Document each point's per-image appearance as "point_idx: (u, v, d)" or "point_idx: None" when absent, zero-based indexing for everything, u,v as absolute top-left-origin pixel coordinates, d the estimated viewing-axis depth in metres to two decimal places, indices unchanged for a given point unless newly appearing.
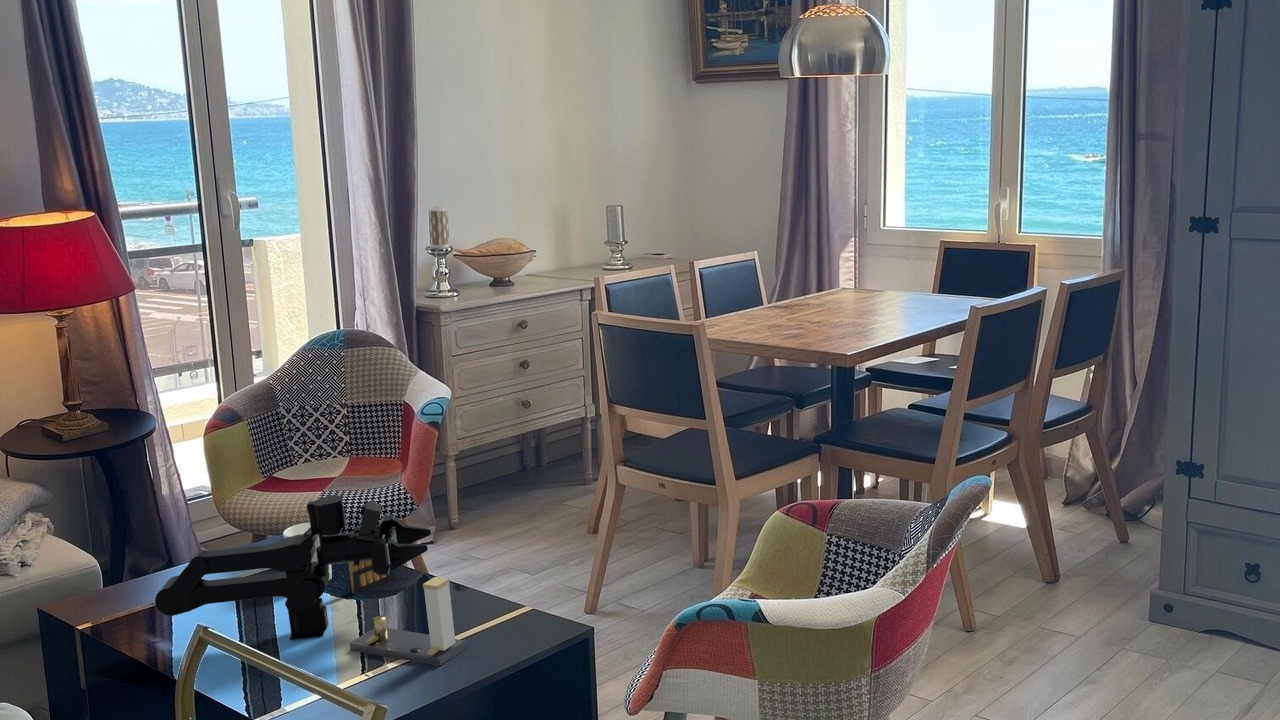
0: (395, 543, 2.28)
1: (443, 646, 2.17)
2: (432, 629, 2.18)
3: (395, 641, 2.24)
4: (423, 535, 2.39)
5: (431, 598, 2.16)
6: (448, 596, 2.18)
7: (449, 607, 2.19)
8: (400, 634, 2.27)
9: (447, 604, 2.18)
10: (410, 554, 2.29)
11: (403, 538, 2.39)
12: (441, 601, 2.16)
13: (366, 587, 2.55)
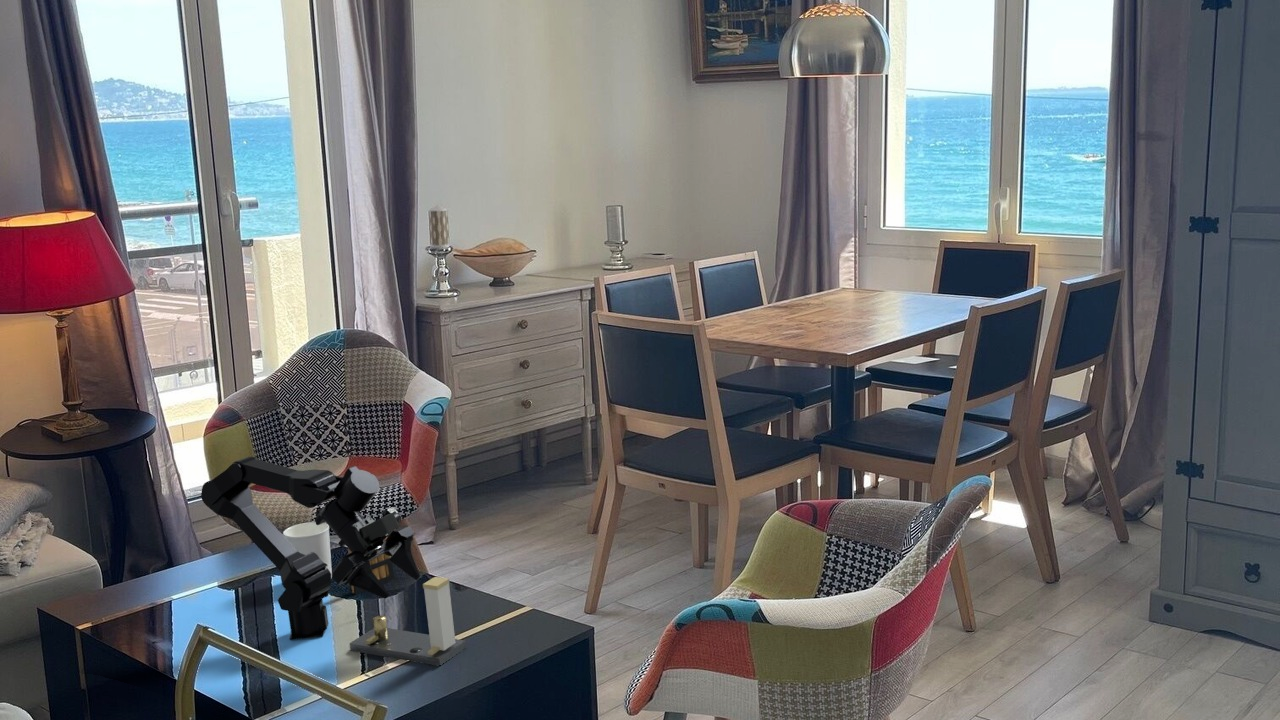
0: (367, 569, 2.16)
1: (443, 646, 2.17)
2: (432, 629, 2.18)
3: (395, 641, 2.24)
4: (412, 574, 2.26)
5: (431, 598, 2.16)
6: (448, 596, 2.18)
7: (449, 607, 2.19)
8: (400, 634, 2.27)
9: (447, 604, 2.18)
10: (370, 587, 2.17)
11: (398, 558, 2.27)
12: (441, 601, 2.16)
13: None
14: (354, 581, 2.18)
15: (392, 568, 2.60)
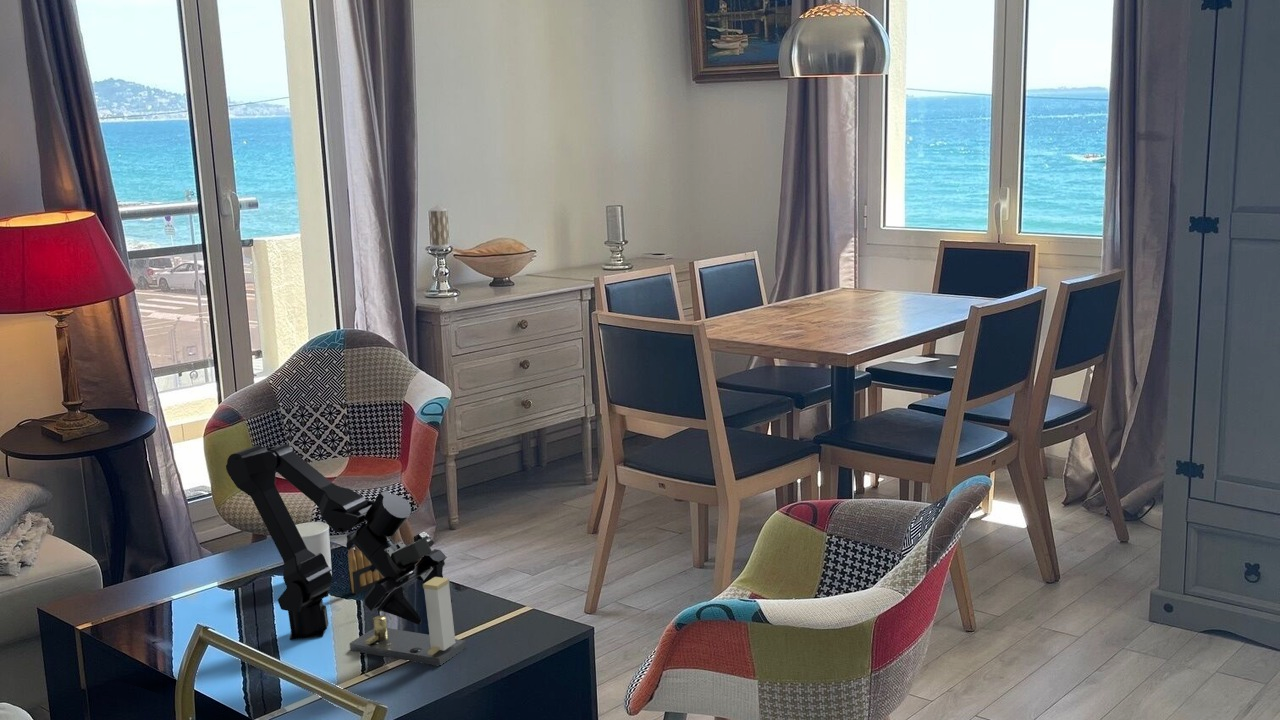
0: (400, 595, 2.14)
1: (443, 646, 2.17)
2: (432, 629, 2.18)
3: (395, 641, 2.24)
4: None
5: (431, 598, 2.16)
6: (448, 596, 2.18)
7: (449, 607, 2.19)
8: (400, 634, 2.27)
9: (447, 604, 2.18)
10: (403, 613, 2.15)
11: None
12: (441, 601, 2.16)
13: (366, 587, 2.55)
14: (386, 607, 2.15)
15: None
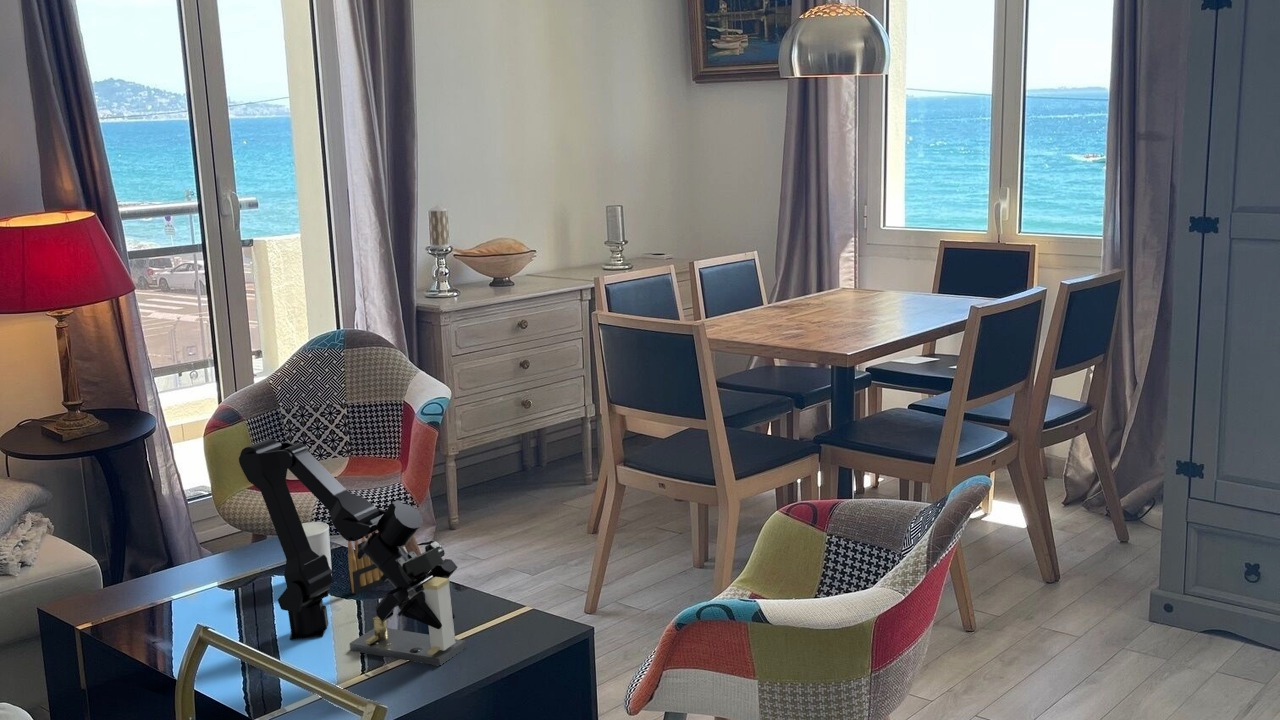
0: (421, 600, 2.16)
1: (443, 646, 2.17)
2: (432, 629, 2.18)
3: (395, 641, 2.24)
4: None
5: (431, 598, 2.16)
6: (448, 596, 2.18)
7: (449, 607, 2.19)
8: (400, 634, 2.27)
9: (447, 604, 2.18)
10: (423, 618, 2.17)
11: None
12: (441, 601, 2.16)
13: (366, 587, 2.55)
14: (407, 612, 2.17)
15: None
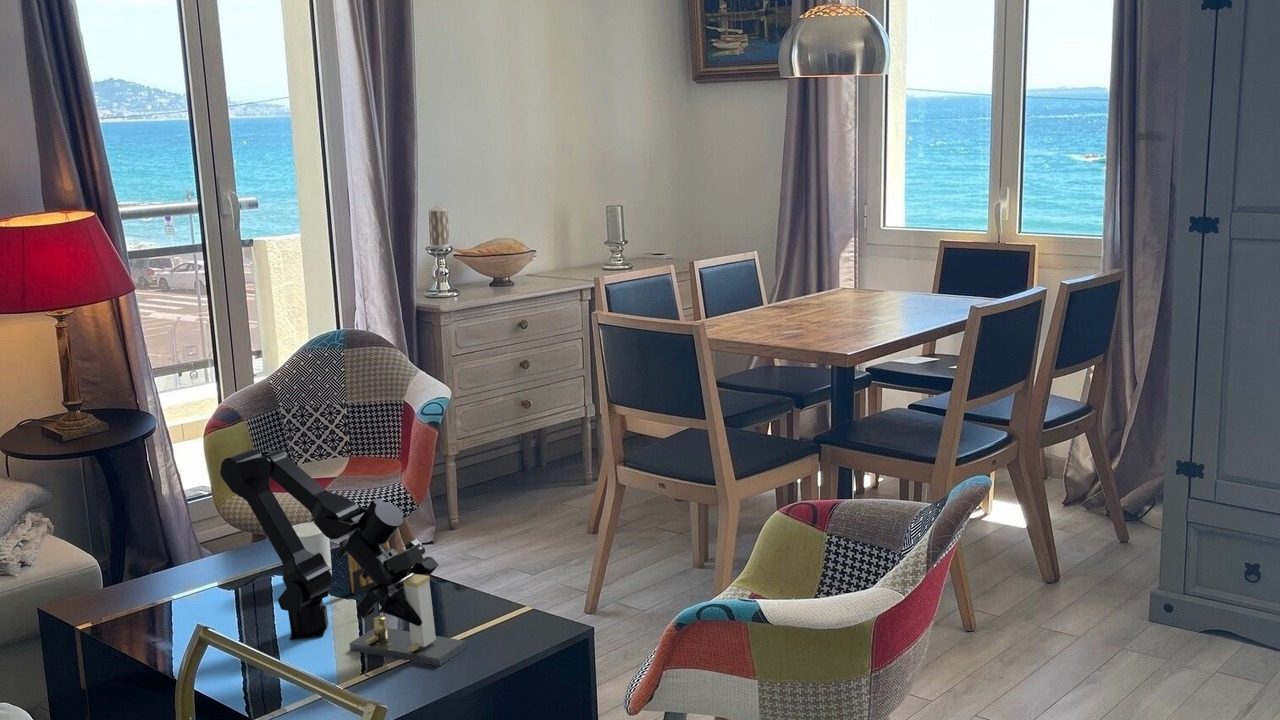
0: (401, 597, 2.18)
1: (423, 643, 2.19)
2: (412, 626, 2.20)
3: (395, 641, 2.24)
4: None
5: (411, 596, 2.18)
6: (428, 593, 2.20)
7: (430, 604, 2.21)
8: (400, 634, 2.27)
9: (427, 601, 2.20)
10: (404, 615, 2.19)
11: None
12: (421, 598, 2.18)
13: (366, 587, 2.55)
14: (387, 609, 2.19)
15: None
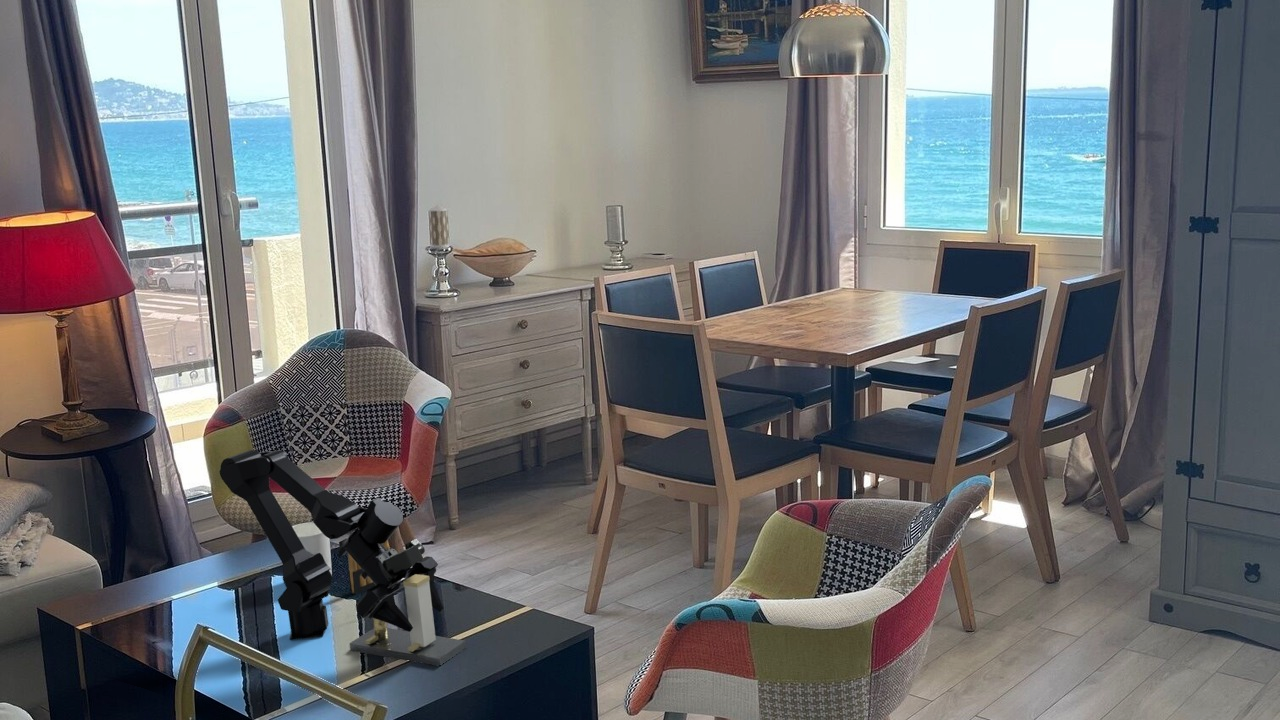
0: (391, 602, 2.15)
1: (423, 643, 2.20)
2: (412, 626, 2.20)
3: (395, 641, 2.24)
4: (435, 606, 2.25)
5: (411, 596, 2.18)
6: (428, 593, 2.20)
7: (430, 604, 2.21)
8: (400, 634, 2.27)
9: (427, 601, 2.20)
10: (394, 620, 2.16)
11: None
12: (421, 598, 2.18)
13: (366, 587, 2.55)
14: (378, 614, 2.16)
15: None
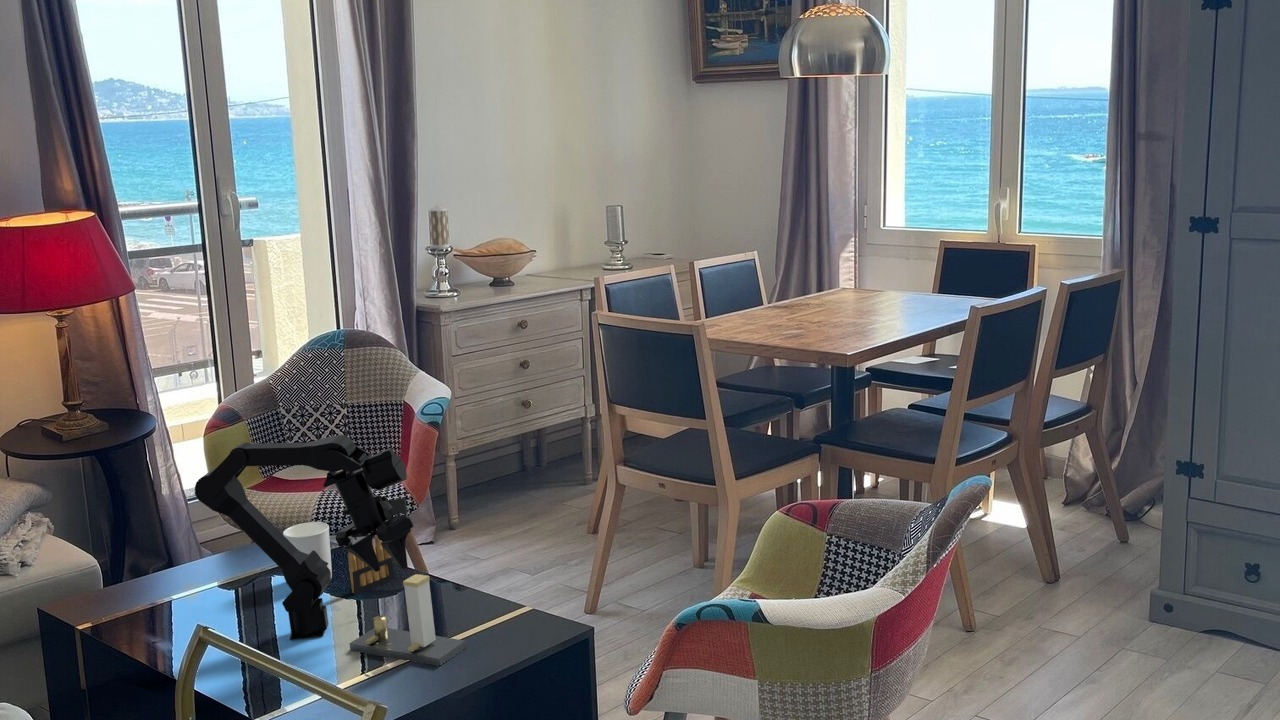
0: None
1: (423, 643, 2.20)
2: (412, 626, 2.20)
3: (395, 641, 2.24)
4: (373, 565, 2.34)
5: (411, 596, 2.18)
6: (428, 593, 2.20)
7: (430, 604, 2.21)
8: (400, 634, 2.27)
9: (427, 601, 2.20)
10: (398, 554, 2.27)
11: (362, 548, 2.34)
12: (421, 598, 2.18)
13: (366, 587, 2.55)
14: (391, 543, 2.25)
15: (392, 568, 2.60)
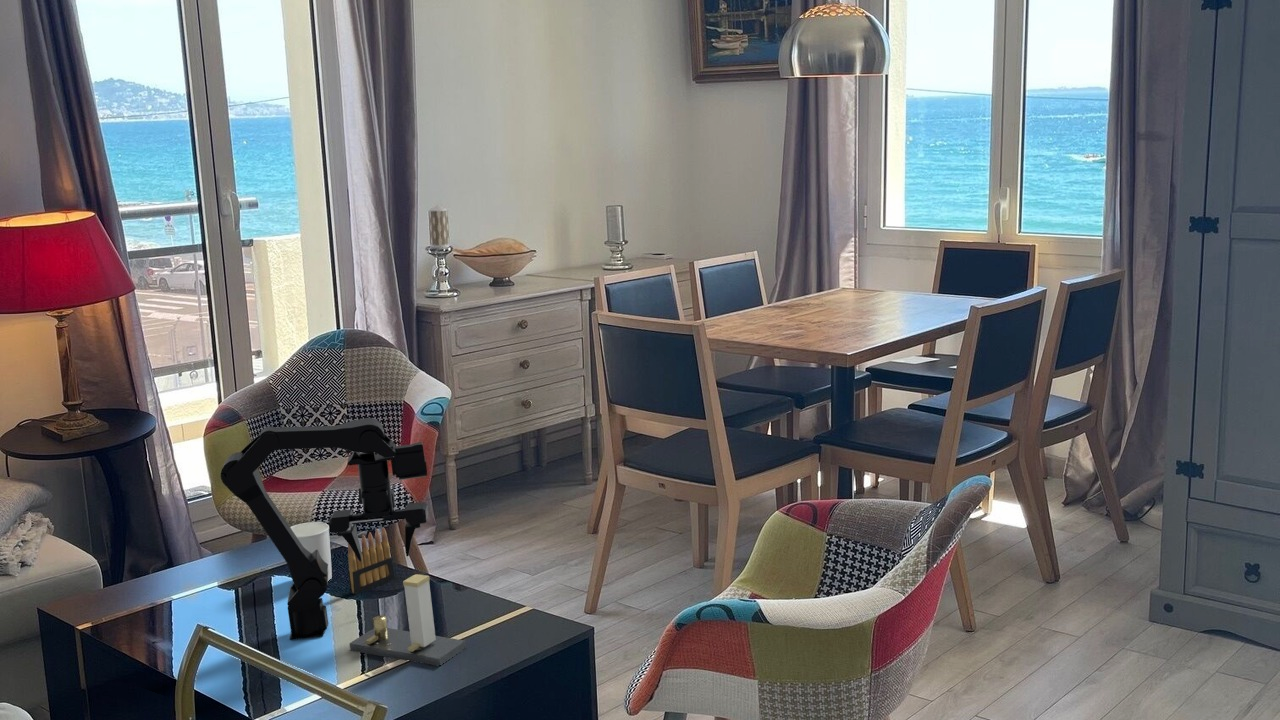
0: None
1: (423, 643, 2.20)
2: (412, 626, 2.20)
3: (395, 641, 2.24)
4: (359, 554, 2.35)
5: (411, 596, 2.18)
6: (428, 593, 2.20)
7: (430, 604, 2.21)
8: (400, 634, 2.27)
9: (427, 601, 2.20)
10: None
11: (355, 535, 2.34)
12: (421, 598, 2.18)
13: (366, 587, 2.55)
14: None
15: (392, 568, 2.60)
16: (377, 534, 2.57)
